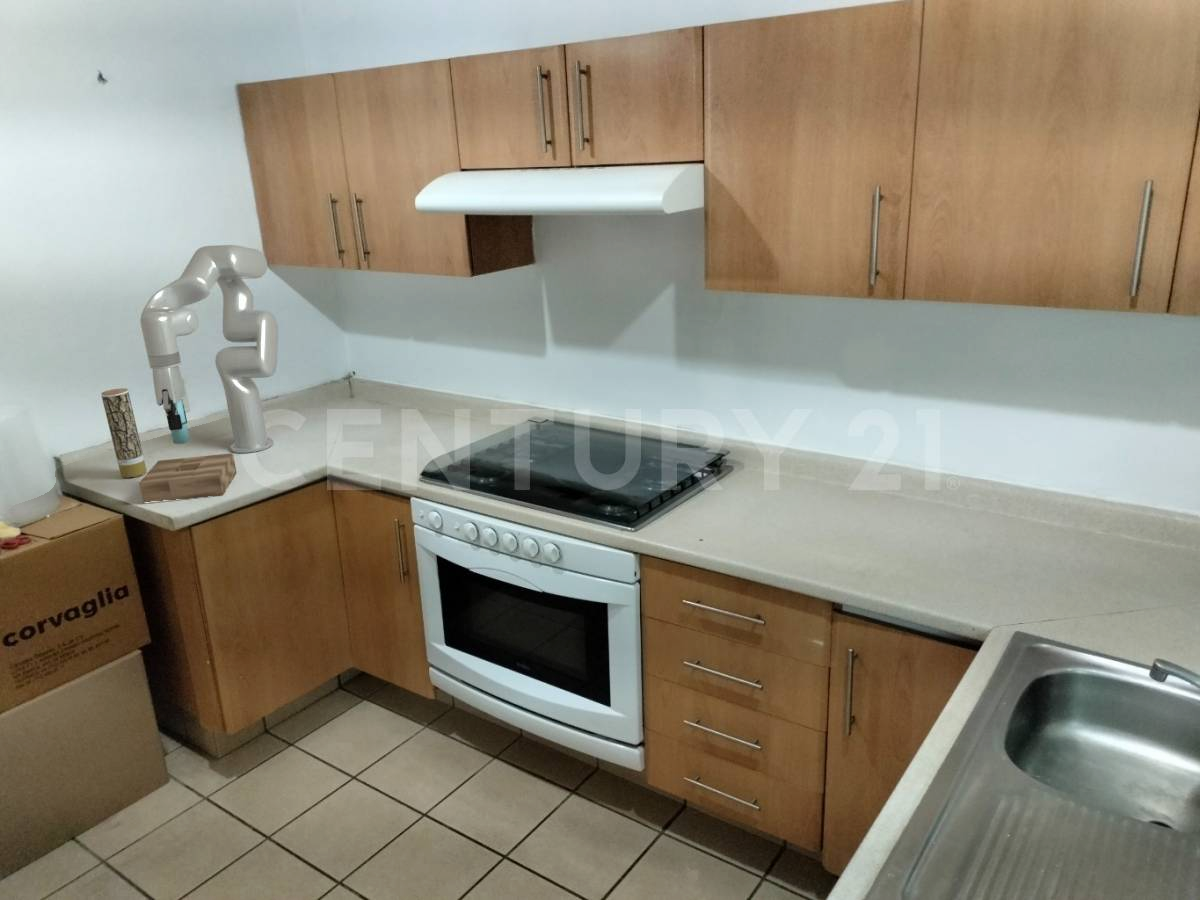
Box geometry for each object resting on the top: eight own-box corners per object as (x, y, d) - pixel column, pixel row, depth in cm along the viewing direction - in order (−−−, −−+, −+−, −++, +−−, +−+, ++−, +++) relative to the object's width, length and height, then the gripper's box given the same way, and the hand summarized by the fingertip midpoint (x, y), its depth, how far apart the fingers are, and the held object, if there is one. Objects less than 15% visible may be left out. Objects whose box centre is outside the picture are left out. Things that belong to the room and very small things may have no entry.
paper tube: (136, 479, 257) (116, 394, 249) (115, 478, 259) (95, 394, 251) (152, 471, 264) (133, 388, 256) (131, 470, 265) (112, 388, 257)
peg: (175, 440, 245) (166, 397, 241) (191, 438, 246) (182, 396, 242) (171, 444, 241) (162, 401, 238) (187, 443, 242) (178, 399, 238)
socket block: (163, 480, 255) (158, 460, 253) (236, 472, 258) (232, 453, 256) (143, 503, 238) (139, 482, 236) (223, 495, 241) (218, 474, 239)
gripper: (158, 355, 244) (172, 419, 250) (139, 368, 228) (154, 437, 234) (187, 352, 245) (200, 417, 251) (171, 365, 229) (185, 434, 235)
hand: (178, 426), depth 242 cm, fingers closed on peg, 4 cm apart
